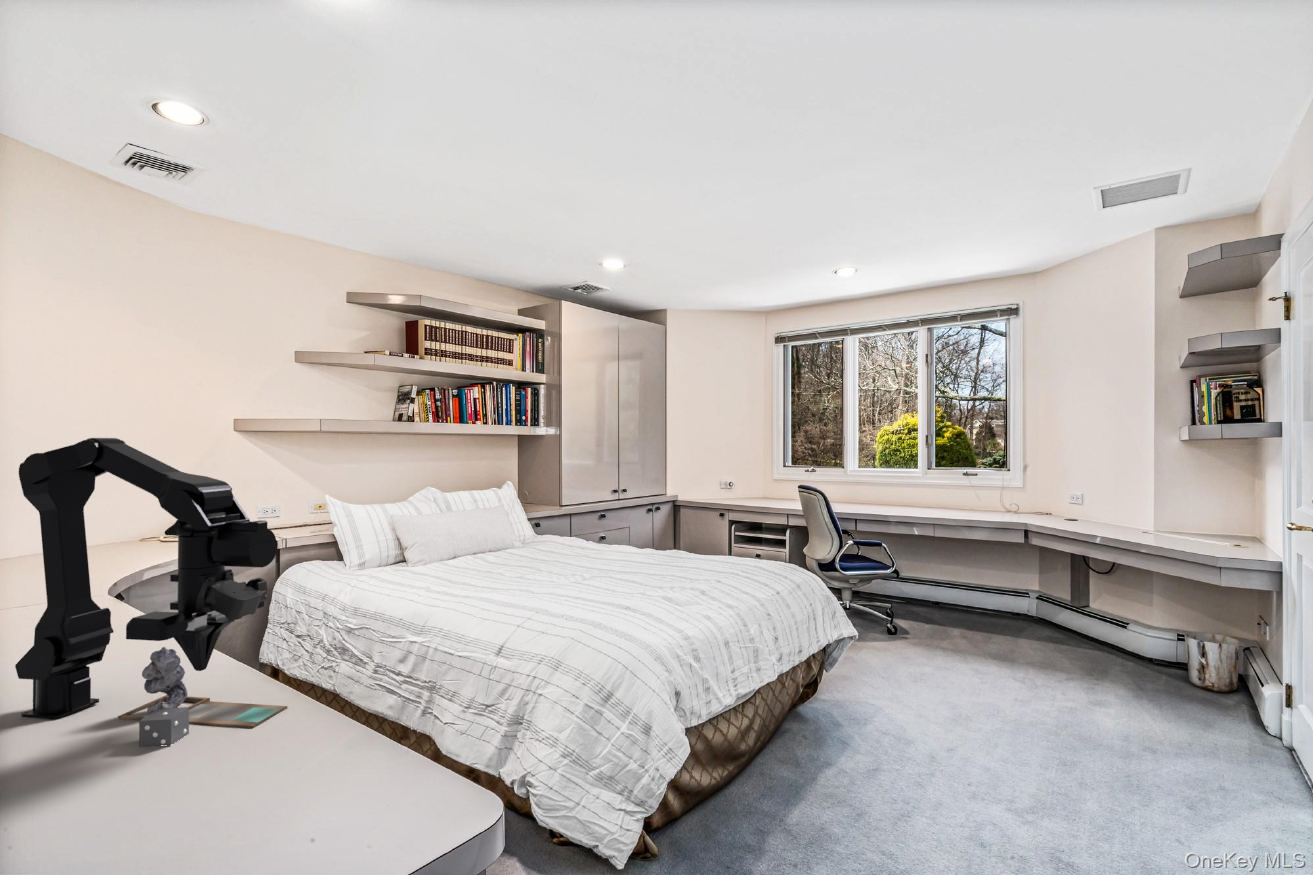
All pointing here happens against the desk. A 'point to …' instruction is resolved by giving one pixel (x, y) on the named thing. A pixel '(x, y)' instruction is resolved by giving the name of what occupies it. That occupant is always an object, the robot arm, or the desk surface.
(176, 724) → the die
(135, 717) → the frame
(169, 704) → the seashell
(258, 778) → the desk surface
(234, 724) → the board
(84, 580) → the robot arm
